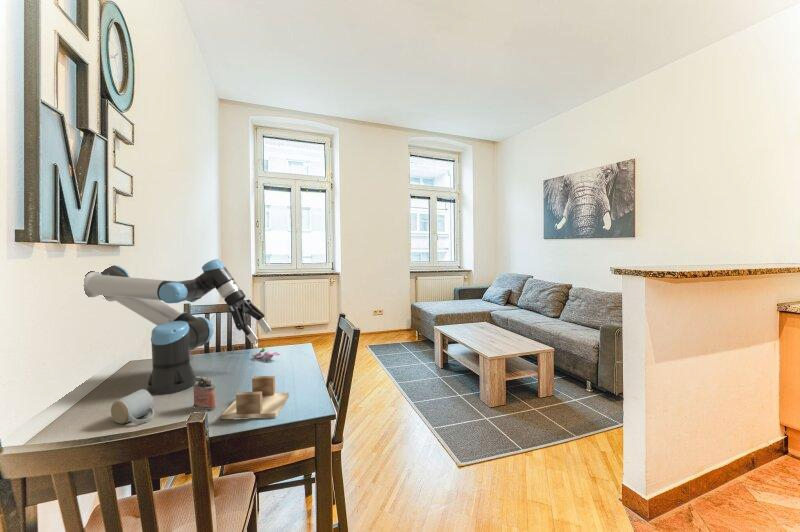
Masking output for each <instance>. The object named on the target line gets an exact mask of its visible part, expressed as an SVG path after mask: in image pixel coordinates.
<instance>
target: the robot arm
mask: <svg viewBox="0 0 800 532" xmlns="http://www.w3.org/2000/svg"><path fill="white" fill-rule="evenodd" d="M112 265H113V264H112ZM201 270H202V273H201V274H200V275H198V276H197V277H196V278H193V279H188V280H187V279H186V280H179V281H176V280H175V281H174V280H163V279H153V278H140V277H130V275H129V272H128V271H127V269H125V268H124V267H122V266H120V265H115V264H114V265H113V266H111V267H109V268H107V269H105V270H104V271H103V272H101V273H99V272H95V271H90V272H88V273H87V274H86V275H85V278H84V285H83V286H84V291H85V294H86V295H87V296H88V297H87V298H96V297H99V295H103V296H104V297H105V299H106V300H105V299H104V300H105V301H107V302H117V303H118V304H120V305H122V306H124V307H125V308H127V309H129V310H130V311H132V312H134V313H135V314H136V315H139V316H140V317H142V318H144V319H145V320H146V321H149V322H151V323H152V324H153V325H155V327H154V328H152V330H151V335H150V336H151V337H150V342H151V357H152V358H151V361H152V362H151V363H152V370H151V372H150V375H149V379H148V381H147V385H146V386H147V390H146V391H148V392H149V393H150V394H151V395H167V394H173V393H176V392H181V391H185V390H187V389H189V388H191V387H193V384H195V383H197V381H195V378H196V377H197V376H196V374H195V372H194V371H195V370H194V369H193V367H192V365H191V361H190V359H191V358H190V357H191V356H190V354H191V353H190V352H191V351H193V350H196V349H197V348H199V347H202V346H204V345H205V344H206V343H208V342H209V341H210V340H211V339H212V336H213V335H214V329H213V324H212V322H211V321H210V320H209V319H208V318H206V317H205V316H204V317H203V316H197V317H196V316H194V315H193V314H191V313H189V312H187V311H184V312H180V311H178V310H177V309H175V308H173V307H171V306H170V305H168V304H178V303H181V302H185V301H187V302H190V303H194V302H196V301H198V300H200V299H202V298H203V297H204V296H205V295H207V294H208V293H210V292H212V290H214V289H216V291H217V292H218V293H219V295H220V297H221V298H222V299H224V300H223V301H224V303H225V304H226V305H227V306H228V310H229V312H230V313H231V316H232V320H233V322H234V325H235V327H236V330H238V331H241V330H242V331H243V333H244V334H245V336H246V337H247V338H248V340H249V341H250V343H251V344H252V343H254V342H256V341H257V340H259V338H258V337H257V335H256V334H255V332H254V330H252V328H251V327H250V326H249V325H247V320H246V319H247V318H246V314H248V315H249V316H251V318H253V319H255V320H256V321H257V324H258V325H259V327H260V328H261V329H262V331H263V332H264V334H265V335H267V334H268V333H270V332H271V331H272V329H271V327H270V326H269V324H268V323H267V321H266V320H265V318H264V317H265V314H264V313H263V312H262V311H261V310H260V309H259V308H258V307H257V306H256V305H254V303H252V301H251V300H250V299H247V300H245V299H246V294H245V293H244V291H243V290H242V289H240V286H239V284H238V282H237V281H236V280H235V279H234V277H233V276H232V274H231V273H230V271H229V270H228V269H227V267H226V266H225V265H224V264H223V262H222V261H221V259H219V258H218V259H217V258H215V259H212V260H210V261H207V262H205V263H204V264H203V265H202V266H201Z"/></svg>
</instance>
